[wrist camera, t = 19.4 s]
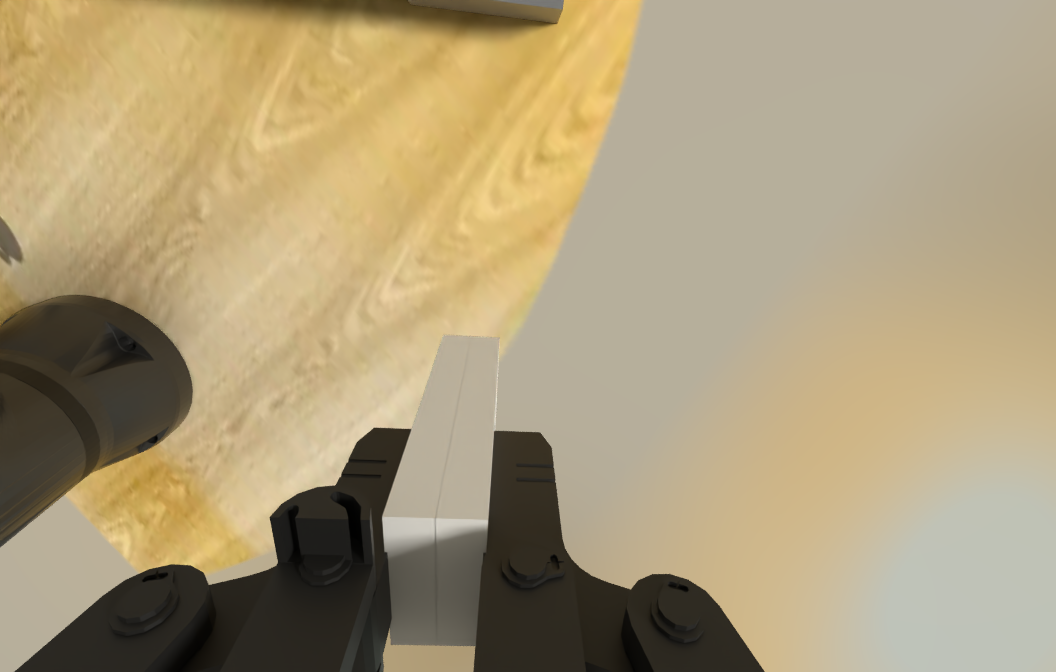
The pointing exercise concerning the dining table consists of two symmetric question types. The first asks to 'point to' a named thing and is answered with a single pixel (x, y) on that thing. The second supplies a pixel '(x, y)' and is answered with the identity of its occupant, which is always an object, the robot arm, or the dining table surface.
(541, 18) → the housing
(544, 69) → the dining table surface
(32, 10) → the dining table surface
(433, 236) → the dining table surface
